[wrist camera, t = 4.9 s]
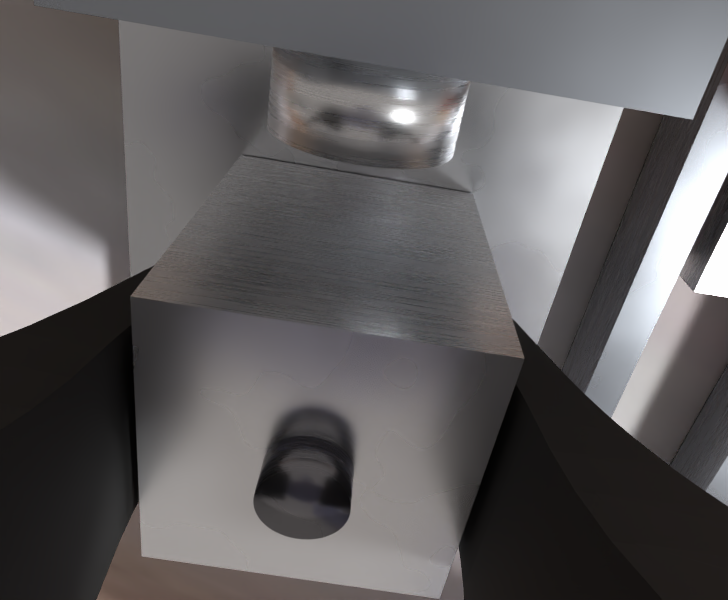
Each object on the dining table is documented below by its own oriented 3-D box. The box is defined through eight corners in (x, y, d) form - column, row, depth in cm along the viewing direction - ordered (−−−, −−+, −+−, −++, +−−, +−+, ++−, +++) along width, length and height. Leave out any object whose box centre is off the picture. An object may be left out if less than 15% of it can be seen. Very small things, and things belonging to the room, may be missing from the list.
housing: (425, 378, 14) (442, 638, 9) (230, 347, 14) (125, 593, 8) (472, 193, 12) (535, 390, 6) (241, 155, 12) (107, 325, 6)
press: (654, 542, 18) (772, 815, 12) (153, 468, 17) (35, 717, 12) (1080, -160, 9) (2090, -323, 4) (129, -346, 9) (-332, -852, 3)
